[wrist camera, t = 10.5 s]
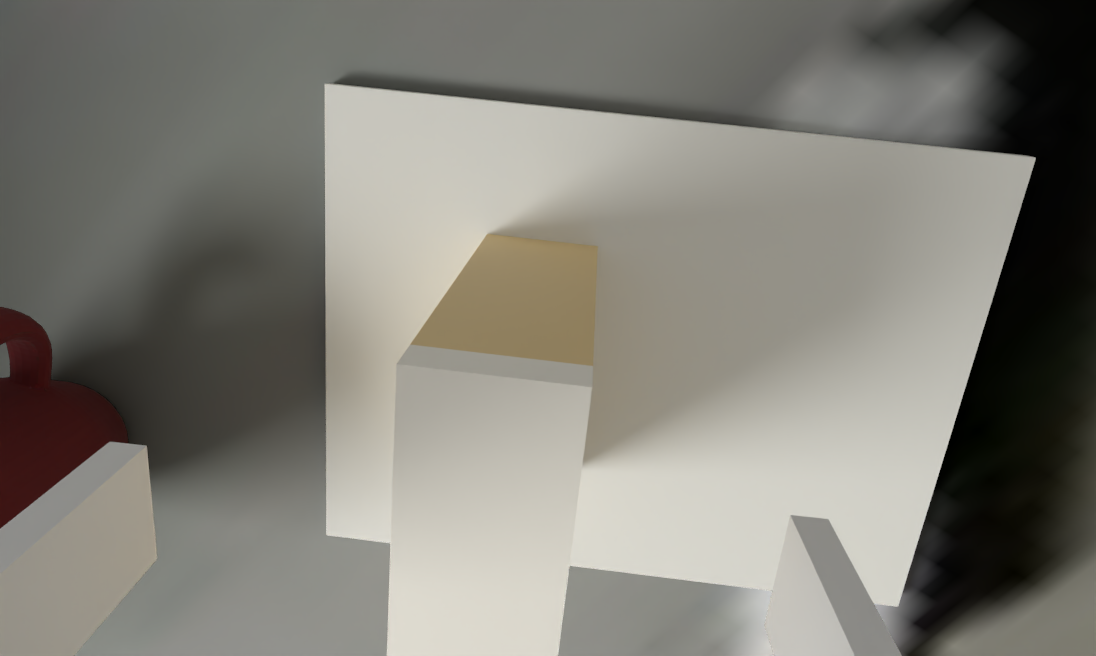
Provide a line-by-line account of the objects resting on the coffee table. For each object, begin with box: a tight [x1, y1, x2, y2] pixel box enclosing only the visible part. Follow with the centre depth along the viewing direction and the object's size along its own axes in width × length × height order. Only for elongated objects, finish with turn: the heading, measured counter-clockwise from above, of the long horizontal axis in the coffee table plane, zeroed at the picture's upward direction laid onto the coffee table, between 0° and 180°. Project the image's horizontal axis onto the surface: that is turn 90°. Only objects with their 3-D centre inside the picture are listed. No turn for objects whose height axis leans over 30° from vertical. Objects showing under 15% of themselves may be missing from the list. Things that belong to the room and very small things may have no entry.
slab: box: [387, 234, 598, 656], centre depth 20 cm, size 4×8×11 cm, turn 174°
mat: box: [325, 83, 1036, 607], centre depth 25 cm, size 21×16×1 cm
